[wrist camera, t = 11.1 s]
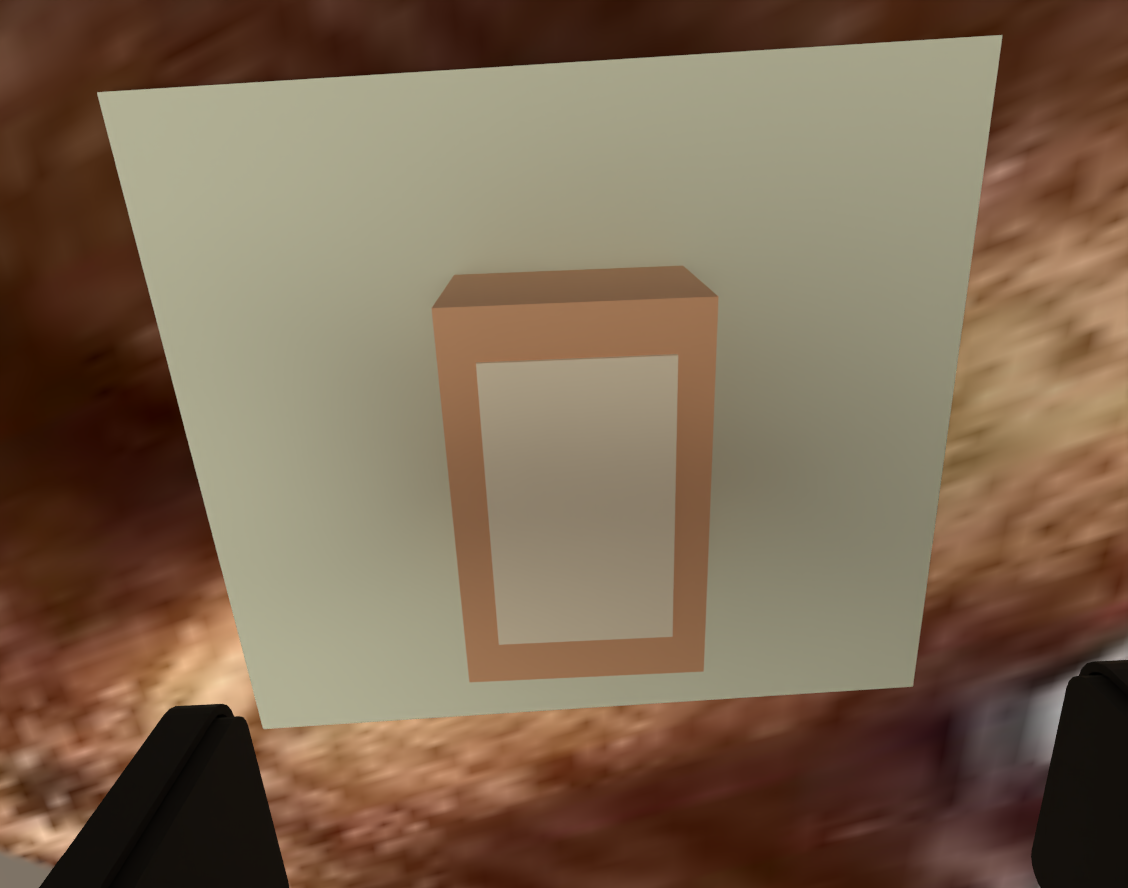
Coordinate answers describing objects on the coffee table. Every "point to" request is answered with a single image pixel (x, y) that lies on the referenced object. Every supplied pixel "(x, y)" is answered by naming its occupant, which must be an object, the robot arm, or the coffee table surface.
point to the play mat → (553, 243)
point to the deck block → (579, 467)
